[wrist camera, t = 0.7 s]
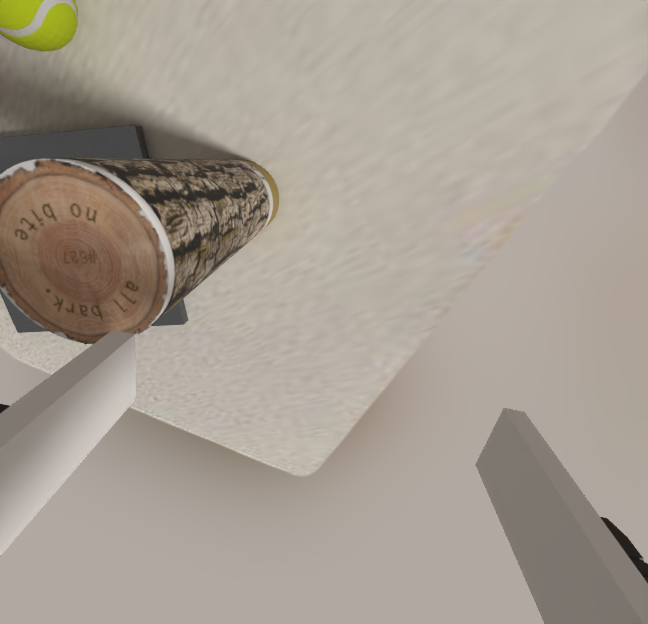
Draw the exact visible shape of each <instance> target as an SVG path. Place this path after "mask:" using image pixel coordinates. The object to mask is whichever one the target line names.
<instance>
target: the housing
mask: <svg viewBox="0 0 648 624" xmlns="http://www.w3.org/2000/svg"><path fill="white" fill-rule="evenodd" d="M47 158H118V159H149V156H148V152H147V148H146V143H145V139H144V135H143V131H142V127H141V126H136V125H133V126H122V127H111V128H100V129H90V130H79V131H68V132H57V133H46V134H36V135H25V136H14V137H3V138H0V174H2V173H3V172H4V171H6V170H7V169H9V168H11V167H13V166H14V165H17V164H19V163H22V162H25V161H30V160H34V159H47ZM0 294H1V296H2V298H3V300H4V303H5V305H6V307H7V309H8V312H9V314H10V316H11V318H12V321H13V323H14V325H15V327H16V330H17V332H18V333H21V332H41V331H48V330H46V329H44V328H43V327H41V326H39V325H38V324H36V323H35V322H33V321H32V320H31V319H29V318H28V317H27V316H26V315H24V314H23V313H22V312H21V311H20V310H19V309H18V308H17V307H16V306H15V305H14V304H13V303H12V302H11V301H10V300H9V299H8V298H7V297H6V295H5V294H4V293H3V292H2V290H1V289H0ZM187 321H188V317H187V313H186V309H185V305H184V301H183V299H182V300H181V301H179V302H178V303H177V304H176V305H175V306H174V307H172V308H171V309H170V310H169V311H168V312H167V313H165V314H164V315H163V316H162V317H161V318H160V319H158V320H157V321H156V322H155V323H154V324H153V325H151V326H161V325H181V324H185V323H186V322H187ZM84 344H87V343H84Z"/></svg>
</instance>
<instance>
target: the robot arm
mask: <svg viewBox="0 0 648 624" xmlns="http://www.w3.org/2000/svg"><path fill="white" fill-rule="evenodd" d="M135 399H136V372H135V334H131V333H126V332H121V331H116V330H112V331H111V332H109V333H108V334H106V335H105V336H104V337H102V338H101V339H100V340H98V341H97V342H96V343H94V344H93V345H92V346H90V347H89V348H88V349H86V350H85V351H84V352H82V353H81V354H80V355H78V356H77V357H76V358H74V359H73V360H72V361H70V362H69V363H68V364H66V365H65V366H63V367H62V368H61V369H59V370H58V371H57V372H55V373H54V374H53V375H51V376H50V377H49V378H48V379H46V380H45V381H43V382H42V383H41V384H39V385H38V386H37V387H35V388H34V389H33V390H31V391H30V392H29V393H27V394H26V395H25V396H23V397H22V398H21V399H19V400H18V401H16V402H15V403H14V404H12V405H11V406H8V405H3V404H0V556H1V555H2V553H3V552H4V551H5V550H6V549H7V548H8V547H9V545H10V544H11V543H12V542H13V541H14V540H15V539H16V537H17V536H18V535H19V534H20V533H21V532H22V530H23V529H24V528H25V527H26V526H27V524H28V523H29V522H30V521H31V520H32V519H33V518H34V516H35V515H36V514H37V513H38V512H39V511H40V509H41V508H42V507H43V506H44V505H45V504H46V502H47V501H48V500H49V499H50V498H51V497H52V496H53V494H54V493H55V492H56V491H57V490H58V489H59V487H60V486H61V485H62V484H63V483H64V482H65V480H66V479H67V478H68V477H69V476H70V475H71V474H72V472H73V471H74V470H75V469H76V468H77V467H78V465H79V464H80V463H81V462H82V461H83V460H84V458H85V457H86V456H87V455H88V454H89V453H90V451H91V450H92V449H93V448H94V447H95V446H96V444H97V443H98V442H99V441H100V440H101V439H102V437H103V436H104V435H105V434H106V433H107V432H108V431H109V429H110V428H111V427H112V426H113V425H114V424H115V422H116V421H117V420H118V419H119V418H120V417H121V415H122V414H123V413H124V412H125V411H126V410H127V409H128V407H129V406H130V405H131V404H132V403H133V402H134V400H135ZM476 467H477V469H478V471H479V474H480V476H481V478H482V481H483V483H484V485H485V488H486V490H487V492H488V494H489V497H490V499H491V501H492V504H493V506H494V508H495V510H496V513H497V515H498V517H499V520H500V522H501V524H502V527H503V529H504V531H505V533H506V536H507V538H508V540H509V543H510V545H511V547H512V550H513V552H514V554H515V557H516V559H517V561H518V564H519V566H520V568H521V570H522V572H523V575H524V577H525V580H526V582H527V584H528V586H529V589H530V591H531V593H532V596H533V598H534V600H535V602H536V605H537V607H538V610H539V612H540V614H541V616H542V619H543V621H544V623H545V624H648V564H647V563H644V561H643V557H642V556H641V555H640V553H639V552H638V551H637V549H636V548H635V547H634V545H633V544H632V543H631V541H630V540H629V539H628V537H626V536H625V535H624V534H623V533H622V532H621V531H620V530H619V529H618V528H617V527H616V526H615V525H614V524H613V523H612V522H610V521H609V520H608V519H607V518H603V517H599V515H598V514H597V512H596V511H595V510H594V508H593V507H592V505H591V504H590V503H589V501H588V500H587V498H586V497H585V495H584V494H583V493H582V491H581V490H580V489H579V487H578V486H577V484H576V483H575V482H574V480H573V479H572V477H571V476H570V475H569V473H568V472H567V470H566V469H565V468H564V467H563V465H562V463H561V462H560V461H559V459H558V458H557V456H556V455H555V454H554V452H553V451H552V450H551V448H550V447H549V445H548V444H547V443H546V441H545V440H544V438H543V437H542V436H541V434H540V433H539V431H538V430H537V429H536V427H535V426H534V425H533V423H532V422H531V420H530V419H529V418H528V416H527V415H526V413H525V412H522V411H517V410H512V409H507V408H504V409H503V411H502V413H501V415H500V417H499V419H498V421H497V423H496V425H495V427H494V429H493V431H492V433H491V435H490V437H489V439H488V441H487V443H486V445H485V447H484V449H483V451H482V453H481V455H480V457H479V459H478V461H477V463H476Z"/></svg>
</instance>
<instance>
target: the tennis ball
mask: <svg viewBox="0 0 648 624" xmlns="http://www.w3.org/2000/svg"><path fill="white" fill-rule="evenodd" d="M77 23H78V10H77V5H76V2H75V0H0V33H1V34H2V35H3V36H5V37H6V38H8V39H9V40H11V41H13V42H14V43H16V44H18V45H21V46H23V47H25V48H28V49H32V50H37V51H54V50H57V49H60V48H62V47H64V46H65V45H67V44H68V43H69V41H70V40H71V39H72V37H73V36H74V34H75V31H76V28H77Z"/></svg>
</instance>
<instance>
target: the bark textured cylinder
mask: <svg viewBox="0 0 648 624" xmlns="http://www.w3.org/2000/svg"><path fill="white" fill-rule="evenodd" d="M278 205H279V193H278V189H277V186H276V183H275V181H274V180H273V178H272V176H271V175H270V174H269V173H268V172H267V171H266V170H265V169H264V168H263V167H261V166H260V165H258V164H256V163H254V162H250V161H245V160H201V159H118V158H47V159H34V160H30V161H25V162H22V163H19V164H17V165H14V166H13V167H11V168H9V169H7V170H6V171H4V172H3V173H2V174H0V289H1V290H2V292H3V293H4V294H5V295H6V297H7V298H8V299H9V300H10V301H11V302H12V303H13V304H14V305H15V306H16V307H17V308H18V309H19V310H20V311H21V312H22V313H23V314H24V315H26V316H27V317H28V318H29V319H31V320H32V321H33V322H35V323H36V324H38V325H39V326H41V327H43V328H44V329H46V330H48V331H50V332H52V333H54V334H56V335H58V336H61V337H63V338H66V339H69V340H72V341H76V342H81V343H87V344H94V343H96V342H97V341H98V340H100V339H101V338H102V337H104V336H105V335H106V334H108V333H109V332H111V331H112V330H116V331H121V332H126V333H131V334H135V336H137V335H139V334H140V333H141V332H143V331H144V330H146V329H147V328H149V327H150V326H151V325H153V324H154V323H155V322H156V321H157V320H158V319H160V318H161V317H162V316H163V315H164V314H165V313H167V312H168V311H169V310H170V309H171V308H172V307H174V306H175V305H176V304H177V303H178V302H179V301H181V300H182V299H183V298H184V297H185V296H186V295H188V294H189V293H190V292H191V291H192V290H193V289H195V288H196V287H197V286H198V285H199V284H200V283H201V282H203V281H204V280H205V279H206V278H207V277H208V276H210V275H211V274H212V273H213V272H214V271H215V270H217V269H218V268H219V267H220V266H221V265H222V264H224V263H225V262H226V261H227V260H228V259H229V258H231V257H232V256H233V255H234V254H235V253H236V252H238V251H239V250H240V249H241V248H242V247H243V246H244V245H246V244H247V243H248V242H249V241H250V240H251V239H253V238H254V237H255V236H256V235H257V234H258V233H260V232H261V231H262V230H263V229H264V228H265V227H266V226H267V225H268V224H270V222H271V221H272V220H273V219H274V217H275V215H276V213H277V210H278Z"/></svg>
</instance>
